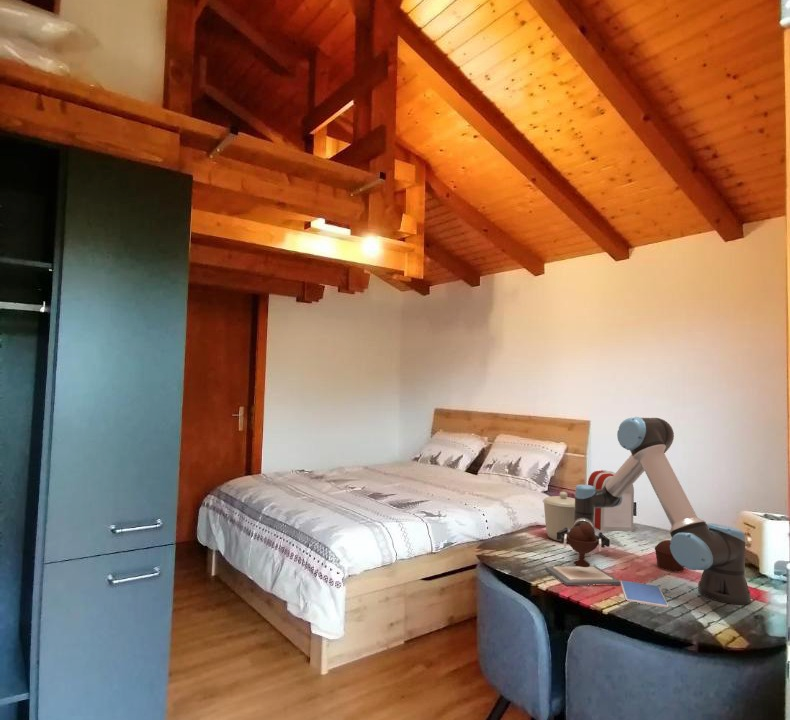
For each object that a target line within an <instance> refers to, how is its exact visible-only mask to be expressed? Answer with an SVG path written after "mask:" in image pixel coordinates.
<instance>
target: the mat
mask: <svg viewBox="0 0 790 720" xmlns="http://www.w3.org/2000/svg"><path fill="white" fill-rule="evenodd" d="M592 566H593V567H595V568H597V569H598V570H600V571H601V572H603V573H605V574H606V575H608V576H609V577H611V578H612V579H613V580H593V581H570V580H568V579H567V578H566V577H564V576H563V575H561V574H560V573H559V572H557V571H556V570H555V569H553V567H554V566H545V571H546V570H547V571H546V572H547V573H549V572H550V573H551V576H553V577H554V576H555V577H556V578H555V577H554V578H555V579H557V580H558V579H559V580H560V581H559V580H558V581H559V582H561V583H562V582H563V583H564V584H563V583H562V584H563V585H565V584H566V585H588V584H589V585H593V584H595V585H596V584H611V585H610V586H621V583H620V581H621V580H619V579H617V578H615V577H614V576H613V575H610V574H609V573H607V572H606V571H604V570H602V569H601V568H600V567H598V566H596V565H592ZM566 567H568V565H567V566H566ZM550 573H549V574H550ZM566 585H565V586H566Z"/></svg>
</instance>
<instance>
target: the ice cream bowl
mask: <svg viewBox="0 0 790 720" xmlns="http://www.w3.org/2000/svg"><path fill="white" fill-rule="evenodd" d="M595 534H596V533H595V527H592V525H590V524H589V523H581V524H580V525H579V526H575V527H573V528H572V529H571V530H570V531H569V535H567V541H568V542H567V543H568V544H569V546H570V547H571V549H572V550H573V551H575V552H576V553H578V554H579V557H578V559H577V560H575V561H573V565H574V566H579V567H589V566H591V565H590V563H589V562H588V561H587V560H586V559H585V556H586V554H590V553H591V552H592V551H594V550H595V549H597V547H599V545H598V543H599V540H598V539H597V538H596V536H595Z"/></svg>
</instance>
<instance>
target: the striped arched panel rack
mask: <svg viewBox="0 0 790 720" xmlns="http://www.w3.org/2000/svg"><path fill="white" fill-rule="evenodd" d="M615 473H616V472H613V471H610V470H609V471H608V470H605V469H601V470H595V471H593V472H591V473H590V475H589V477H588V480H587V485H591V486H593V487H594V488H595V490H596V489H602V488H603V487H604V486H605V485H606V484H607V483H608V481H609V480H610V479H611V478H612V477H613V475H614V474H615ZM634 496H635V488H634V483H633V484H632V485H631V486H630V488H629V489H628V490H627V491H626V492H625V493H624V494H623V495H622V498H623V499H622V503H621V504H620V505H619V506H615V507H607V508H594V527H593V528H594V529H597V530H598V529H599V531H600V530H601V531H600V532H612V531H633V532H634V503H635V498H634Z"/></svg>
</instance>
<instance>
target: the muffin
mask: <svg viewBox="0 0 790 720" xmlns="http://www.w3.org/2000/svg"><path fill="white" fill-rule="evenodd" d="M670 541H671V539H670V540H669V539H664V540H662V541H660V542H658V543H657V544H656V545H655V547H654V551H655V556H656V565H657V566H658V568H659V567H660V569H662V568H663V570H666V571H669V572H682V571H684V568H685V567H683V566H681V565H680V564H679V563H678V562H677V561H676V560H675V558H674V557H673V555H672V553H671V550H670V545H671V543H670Z"/></svg>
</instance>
